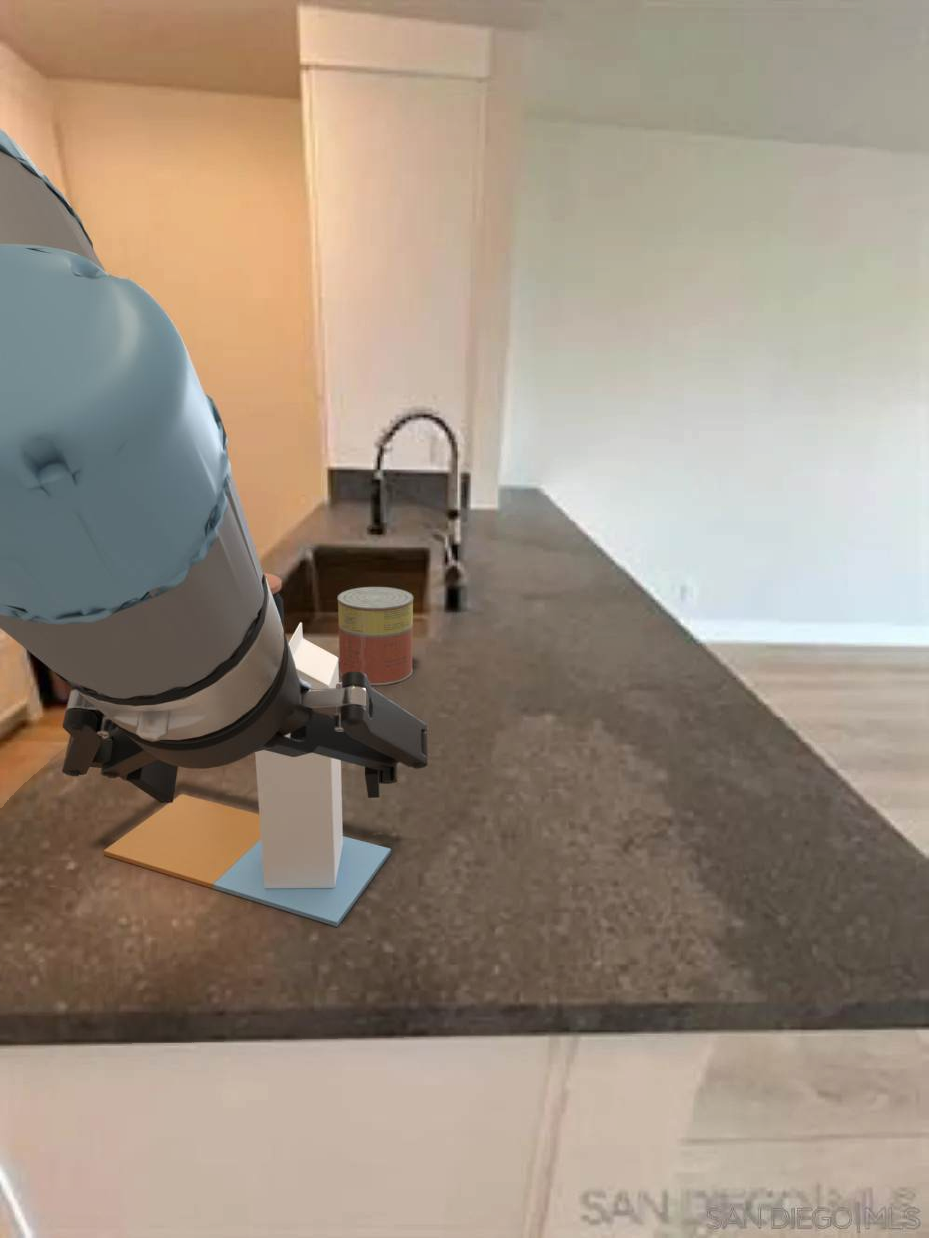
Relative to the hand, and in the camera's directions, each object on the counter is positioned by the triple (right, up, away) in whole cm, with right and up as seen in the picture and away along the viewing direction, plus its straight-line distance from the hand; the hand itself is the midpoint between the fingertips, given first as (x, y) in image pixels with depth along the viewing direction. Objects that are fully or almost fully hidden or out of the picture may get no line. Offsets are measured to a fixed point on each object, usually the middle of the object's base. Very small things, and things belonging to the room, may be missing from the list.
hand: (273, 780), depth 46 cm
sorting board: (-7, -11, +16) cm, 20 cm away
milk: (-1, -11, +14) cm, 18 cm away
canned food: (-1, +3, +58) cm, 59 cm away
